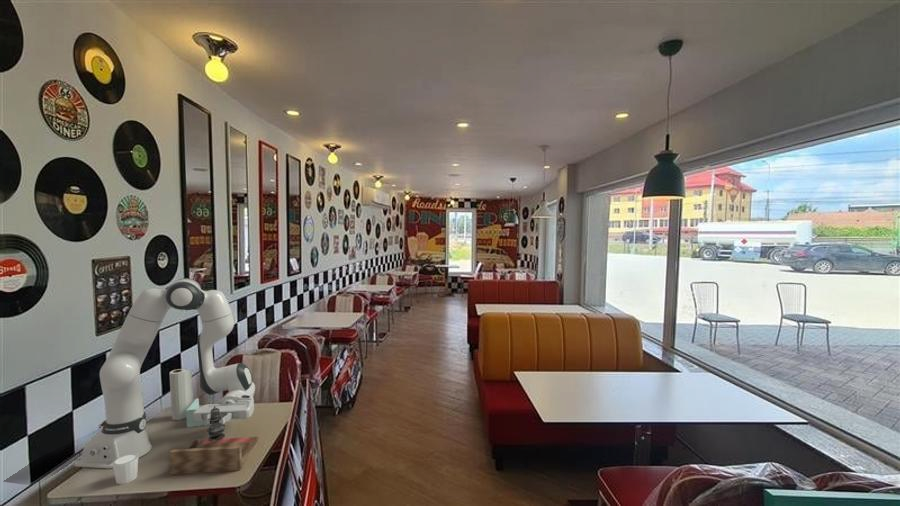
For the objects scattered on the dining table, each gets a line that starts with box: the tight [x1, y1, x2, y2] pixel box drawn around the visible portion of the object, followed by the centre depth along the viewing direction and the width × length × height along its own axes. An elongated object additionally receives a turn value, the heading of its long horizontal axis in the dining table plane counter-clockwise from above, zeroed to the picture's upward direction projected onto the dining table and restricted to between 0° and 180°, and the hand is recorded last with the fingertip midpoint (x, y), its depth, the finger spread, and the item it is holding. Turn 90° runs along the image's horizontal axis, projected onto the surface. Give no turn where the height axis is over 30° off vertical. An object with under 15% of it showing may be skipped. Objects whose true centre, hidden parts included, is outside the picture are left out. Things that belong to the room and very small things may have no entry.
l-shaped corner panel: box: [185, 398, 211, 428], centre depth 178 cm, size 12×12×8 cm
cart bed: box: [169, 436, 259, 475], centre depth 150 cm, size 23×21×8 cm
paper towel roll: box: [168, 368, 194, 421], centre depth 179 cm, size 7×6×21 cm
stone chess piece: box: [206, 406, 226, 442], centre depth 147 cm, size 6×6×12 cm
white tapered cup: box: [112, 454, 139, 485], centre depth 137 cm, size 7×7×7 cm
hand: (214, 422), depth 146 cm, fingers closed on stone chess piece, 3 cm apart
